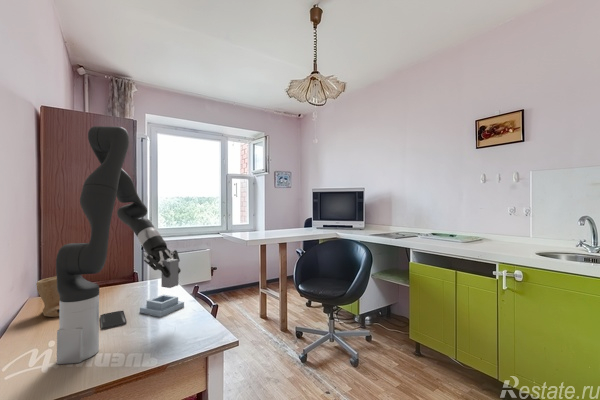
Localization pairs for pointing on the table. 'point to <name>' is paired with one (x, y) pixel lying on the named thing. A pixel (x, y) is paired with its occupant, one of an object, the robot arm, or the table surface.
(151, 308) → the outlet box
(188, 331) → the table surface
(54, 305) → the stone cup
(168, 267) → the block
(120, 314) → the phone
